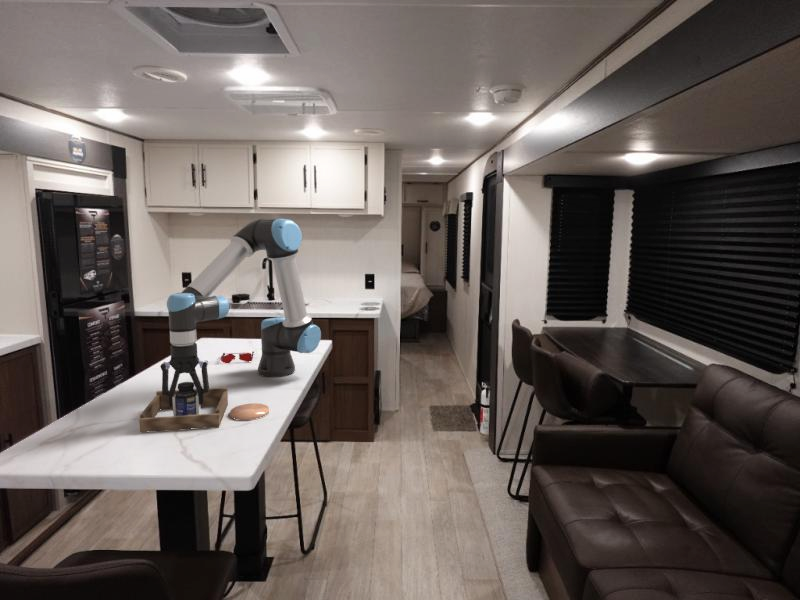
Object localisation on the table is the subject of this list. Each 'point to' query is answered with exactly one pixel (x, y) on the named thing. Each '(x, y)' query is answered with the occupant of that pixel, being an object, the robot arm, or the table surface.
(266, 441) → the table surface
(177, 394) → the pill bottle
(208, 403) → the frame
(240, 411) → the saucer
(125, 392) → the table surface
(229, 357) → the glasses
